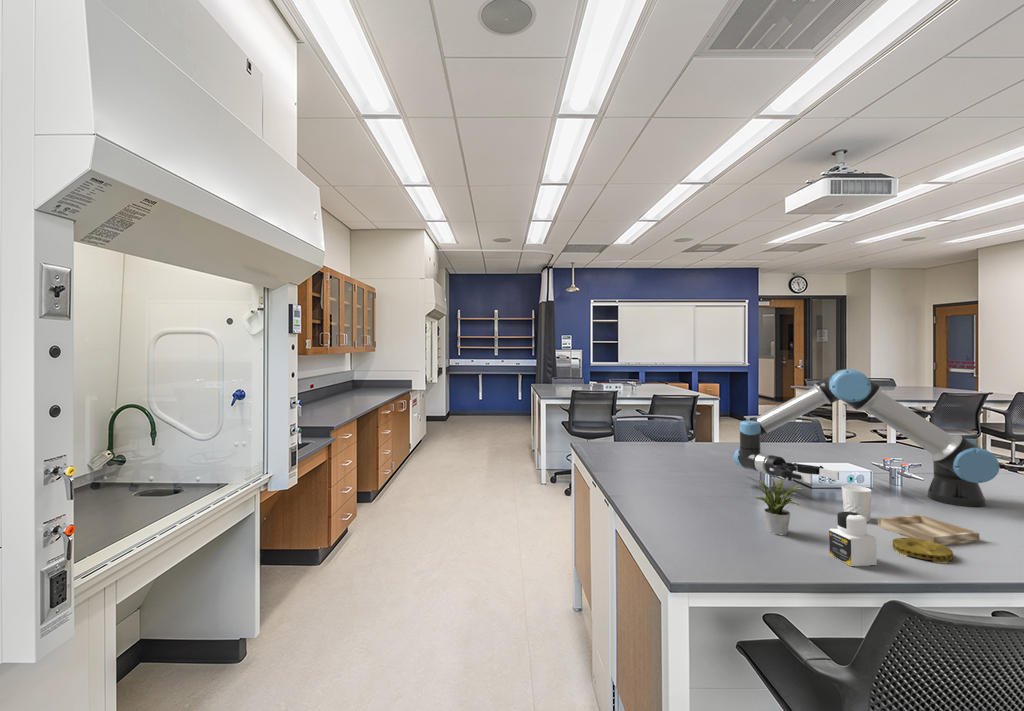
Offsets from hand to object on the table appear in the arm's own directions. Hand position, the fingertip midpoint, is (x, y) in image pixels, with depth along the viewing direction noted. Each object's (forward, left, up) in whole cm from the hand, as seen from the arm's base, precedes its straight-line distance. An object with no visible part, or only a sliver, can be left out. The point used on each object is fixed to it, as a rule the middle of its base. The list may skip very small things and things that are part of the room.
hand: (825, 477), depth 159 cm
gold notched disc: (+6, +36, -12) cm, 38 cm away
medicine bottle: (+28, +36, -11) cm, 47 cm away
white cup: (-2, +10, -11) cm, 15 cm away
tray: (-10, +25, -11) cm, 29 cm away
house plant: (+32, +16, -11) cm, 37 cm away
